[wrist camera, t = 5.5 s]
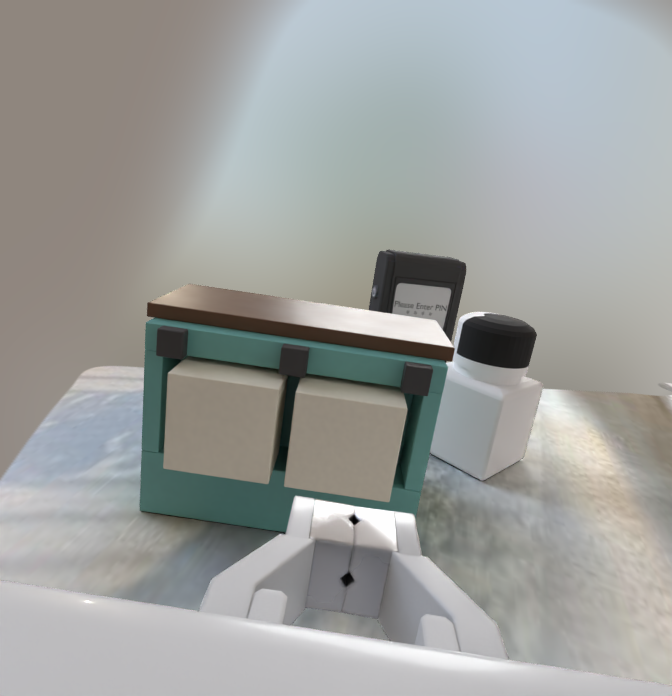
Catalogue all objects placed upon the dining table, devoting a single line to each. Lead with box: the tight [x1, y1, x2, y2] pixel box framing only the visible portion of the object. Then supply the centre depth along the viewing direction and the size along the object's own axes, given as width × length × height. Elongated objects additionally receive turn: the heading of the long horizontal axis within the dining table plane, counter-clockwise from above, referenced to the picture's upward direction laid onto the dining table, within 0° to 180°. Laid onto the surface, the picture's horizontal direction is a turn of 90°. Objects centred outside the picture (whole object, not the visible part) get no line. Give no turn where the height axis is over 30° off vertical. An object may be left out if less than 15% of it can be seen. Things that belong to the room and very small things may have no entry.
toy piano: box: [140, 284, 455, 532], centre depth 31 cm, size 10×17×12 cm, turn 88°
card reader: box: [369, 250, 466, 363], centre depth 53 cm, size 9×4×15 cm, turn 104°
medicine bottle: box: [430, 312, 543, 481], centre depth 41 cm, size 7×7×12 cm
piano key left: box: [163, 356, 288, 484], centre depth 27 cm, size 4×6×5 cm, turn 88°
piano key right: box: [284, 373, 408, 502], centre depth 27 cm, size 4×6×5 cm, turn 87°
